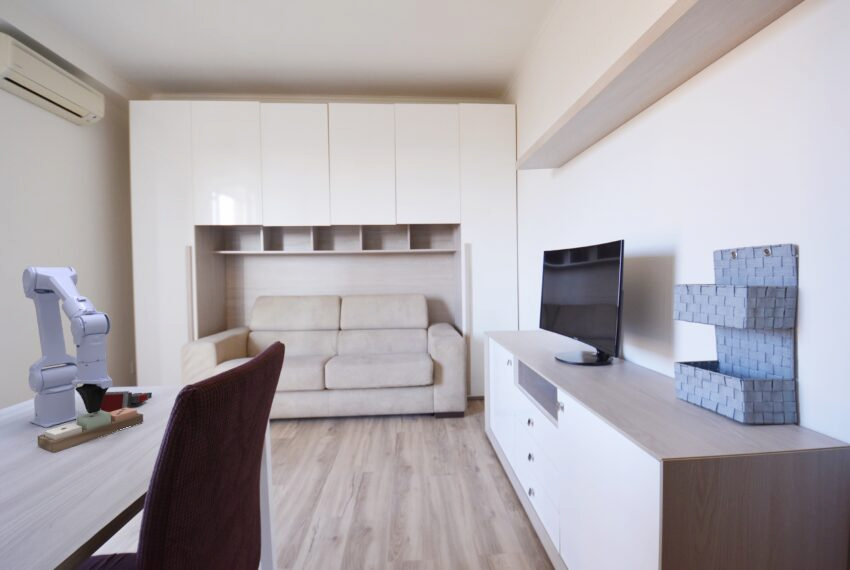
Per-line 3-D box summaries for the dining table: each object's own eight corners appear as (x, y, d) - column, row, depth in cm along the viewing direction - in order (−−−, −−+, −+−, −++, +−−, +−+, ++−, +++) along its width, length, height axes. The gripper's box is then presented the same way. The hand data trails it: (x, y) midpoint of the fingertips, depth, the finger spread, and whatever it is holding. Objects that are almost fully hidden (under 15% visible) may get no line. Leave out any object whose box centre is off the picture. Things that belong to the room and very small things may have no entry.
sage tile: (76, 429, 93) (76, 416, 93) (100, 422, 98) (100, 409, 97) (87, 433, 91) (86, 419, 91) (111, 425, 95) (110, 412, 95)
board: (37, 446, 87) (37, 436, 87) (126, 418, 104) (126, 410, 104) (54, 452, 84) (53, 442, 84) (143, 422, 101) (142, 414, 101)
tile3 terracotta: (105, 425, 98) (104, 413, 98) (126, 419, 103) (126, 407, 103) (115, 428, 96) (115, 416, 96) (136, 421, 101) (136, 409, 101)
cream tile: (45, 444, 88) (44, 430, 87) (72, 436, 92) (71, 422, 92) (55, 448, 85) (54, 434, 85) (82, 439, 90) (81, 426, 90)
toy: (128, 406, 121) (93, 415, 106) (130, 387, 122) (95, 393, 107) (156, 405, 122) (125, 413, 107) (158, 386, 123) (127, 392, 108)
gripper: (57, 361, 93) (59, 413, 93) (87, 366, 87) (89, 422, 87) (91, 355, 99) (93, 404, 100) (121, 360, 94) (123, 411, 94)
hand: (93, 411), depth 94 cm, fingers closed
